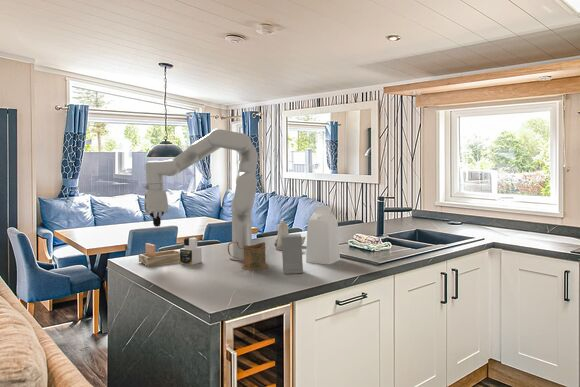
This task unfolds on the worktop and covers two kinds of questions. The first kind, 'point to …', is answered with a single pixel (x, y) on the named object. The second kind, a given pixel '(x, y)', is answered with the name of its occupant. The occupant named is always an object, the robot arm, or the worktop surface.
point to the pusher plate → (150, 250)
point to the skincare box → (292, 254)
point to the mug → (253, 256)
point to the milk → (322, 237)
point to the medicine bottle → (190, 252)
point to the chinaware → (282, 231)
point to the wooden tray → (161, 258)
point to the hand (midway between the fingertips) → (157, 226)
